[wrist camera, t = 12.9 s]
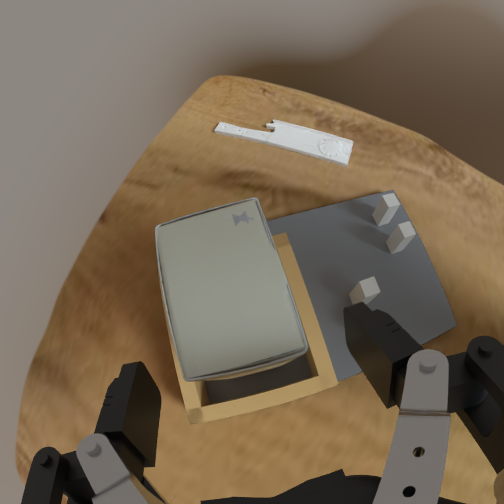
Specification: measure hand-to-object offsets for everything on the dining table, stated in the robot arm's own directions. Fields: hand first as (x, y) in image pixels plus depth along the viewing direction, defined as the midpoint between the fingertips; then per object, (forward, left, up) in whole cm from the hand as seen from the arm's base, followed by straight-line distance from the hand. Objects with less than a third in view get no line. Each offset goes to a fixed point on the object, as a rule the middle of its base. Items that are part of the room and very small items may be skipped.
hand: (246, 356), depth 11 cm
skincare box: (0, -3, -10) cm, 11 cm away
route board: (-6, -4, -11) cm, 13 cm away
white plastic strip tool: (-9, -22, -12) cm, 27 cm away
